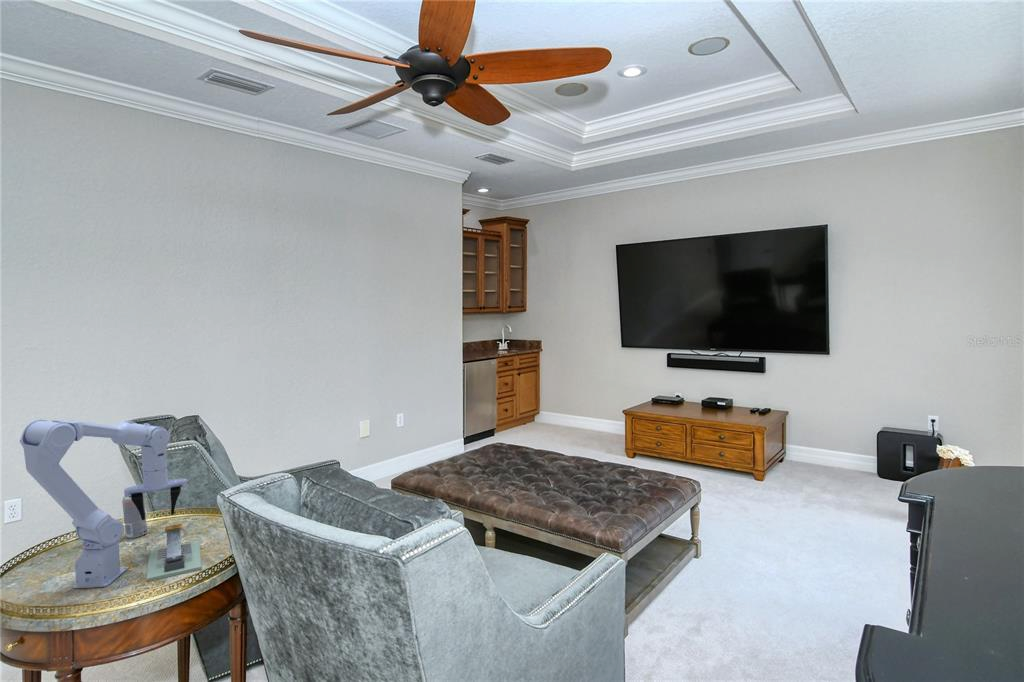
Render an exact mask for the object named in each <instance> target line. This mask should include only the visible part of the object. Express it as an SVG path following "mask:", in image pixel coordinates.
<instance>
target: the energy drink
mask: <svg viewBox="0 0 1024 682" xmlns="http://www.w3.org/2000/svg"><path fill="white" fill-rule="evenodd" d="M121 502H122V511H123V521H124V522H123V524H124V533H125V538H127V539H137V538H140V537H139V536H141V537H143V536H144V534H145V535H146V534H147V532H148V526H147V516H146V513H145V520H142V519H141V515H140V513H139V511H138V509H137V507H136V506H135V504H134V503H133V502H132V500H131V495H130V496H128V497H125V496H123V497H122V501H121ZM143 503H144V511H145V512H146V506H145V505H146V504H145V496H144V495H143ZM142 535H143V536H142ZM136 537H137V538H136Z"/></svg>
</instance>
